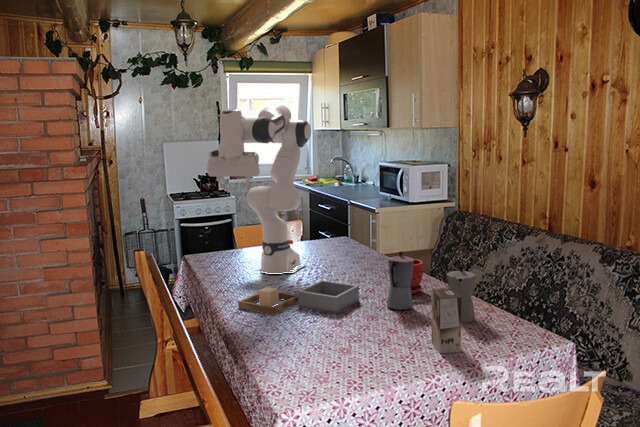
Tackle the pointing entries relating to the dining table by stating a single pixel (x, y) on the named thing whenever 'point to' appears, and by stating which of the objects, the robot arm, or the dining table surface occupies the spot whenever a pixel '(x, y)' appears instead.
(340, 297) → the bin
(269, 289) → the tan block
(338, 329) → the dining table surface
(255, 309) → the frame
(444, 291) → the coffee box
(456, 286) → the coffeepot
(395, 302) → the moka pot
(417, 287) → the plant pot
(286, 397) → the dining table surface
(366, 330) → the dining table surface
